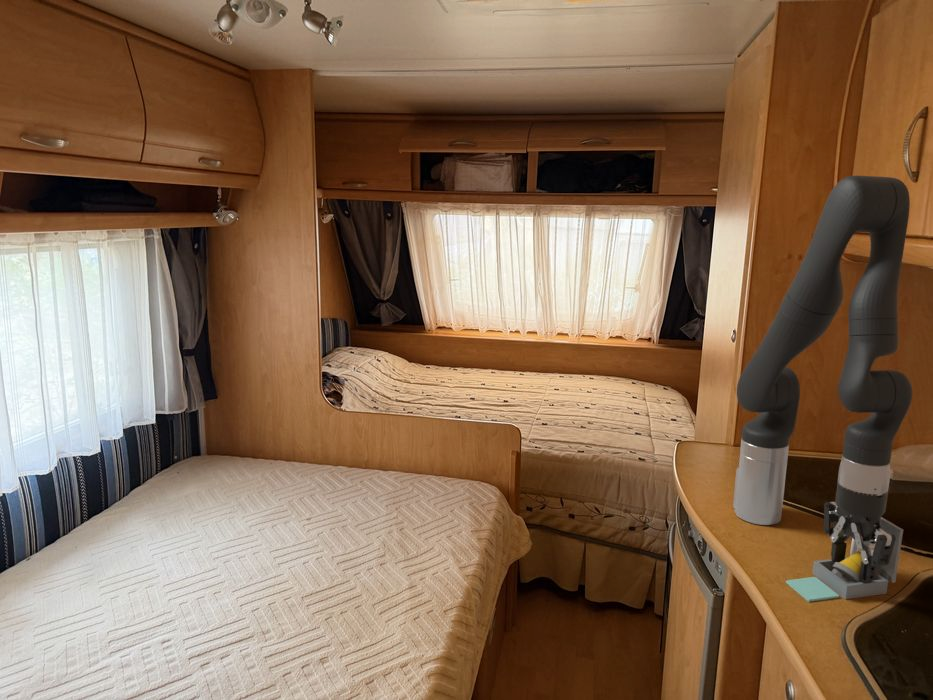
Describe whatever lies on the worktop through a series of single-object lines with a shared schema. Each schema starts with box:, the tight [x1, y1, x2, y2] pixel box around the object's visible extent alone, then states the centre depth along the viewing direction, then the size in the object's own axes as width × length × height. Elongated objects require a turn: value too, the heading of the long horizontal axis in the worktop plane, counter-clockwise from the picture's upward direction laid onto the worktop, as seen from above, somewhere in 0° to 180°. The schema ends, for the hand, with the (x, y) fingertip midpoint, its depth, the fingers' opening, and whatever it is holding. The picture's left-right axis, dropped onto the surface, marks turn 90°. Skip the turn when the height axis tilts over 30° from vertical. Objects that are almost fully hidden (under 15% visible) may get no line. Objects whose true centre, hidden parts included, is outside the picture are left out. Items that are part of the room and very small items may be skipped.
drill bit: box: [832, 549, 869, 584], centre depth 117 cm, size 5×5×10 cm
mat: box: [785, 576, 840, 603], centre depth 116 cm, size 6×6×1 cm
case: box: [812, 517, 904, 600], centre depth 118 cm, size 10×10×12 cm
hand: (851, 571), depth 117 cm, fingers open, 6 cm apart
